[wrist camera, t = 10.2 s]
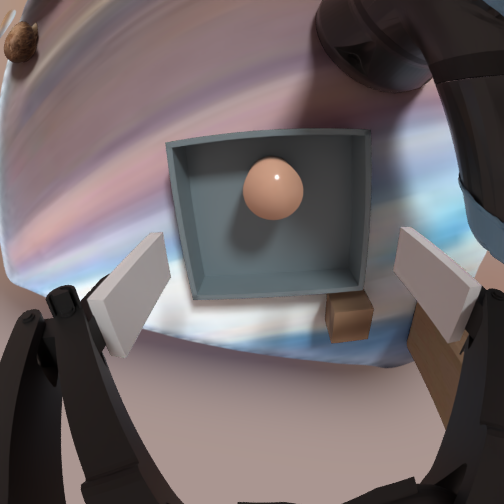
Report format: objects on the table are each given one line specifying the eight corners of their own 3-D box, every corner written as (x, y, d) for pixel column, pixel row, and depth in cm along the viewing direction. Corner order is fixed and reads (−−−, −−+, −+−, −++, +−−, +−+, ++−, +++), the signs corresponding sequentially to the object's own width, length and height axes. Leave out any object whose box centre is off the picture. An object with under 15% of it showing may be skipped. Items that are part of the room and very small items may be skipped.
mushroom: (35, 4, 14) (3, 21, 11) (57, 28, 20) (25, 47, 16) (22, 35, 19) (-6, 53, 16) (42, 59, 24) (14, 78, 21)
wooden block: (448, 333, 38) (496, 414, 20) (403, 345, 39) (446, 440, 21) (462, 286, 34) (530, 368, 16) (415, 297, 35) (480, 398, 16)
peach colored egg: (246, 156, 28) (240, 163, 21) (293, 154, 27) (302, 160, 21) (249, 201, 30) (245, 221, 23) (295, 199, 29) (303, 218, 23)
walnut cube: (327, 290, 35) (334, 312, 30) (362, 286, 34) (373, 308, 30) (324, 319, 37) (331, 343, 32) (358, 316, 36) (367, 338, 32)
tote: (180, 140, 28) (165, 142, 23) (354, 129, 26) (370, 129, 22) (201, 278, 35) (193, 299, 30) (351, 269, 33) (363, 290, 29)
